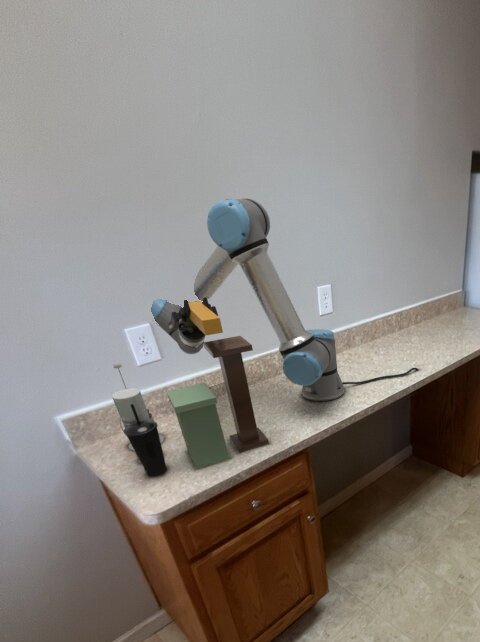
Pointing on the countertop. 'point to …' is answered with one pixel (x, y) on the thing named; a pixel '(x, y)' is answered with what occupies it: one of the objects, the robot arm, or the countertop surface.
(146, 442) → the drinking cup
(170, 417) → the countertop surface
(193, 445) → the green lidded bin
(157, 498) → the countertop surface
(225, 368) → the walnut stand
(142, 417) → the spray can
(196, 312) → the box
